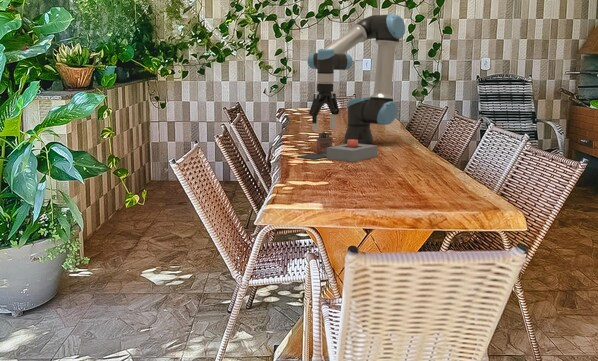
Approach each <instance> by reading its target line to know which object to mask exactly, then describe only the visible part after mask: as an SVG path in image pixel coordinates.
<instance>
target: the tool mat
mask: <svg viewBox="0 0 598 361" xmlns="http://www.w3.org/2000/svg"><path fill="white" fill-rule="evenodd" d="M296 158H298V159H302V160H303V159H304V160H310V161H311V160H313V161H317V160H323V159H327V154H316V152H314V153H308V154H302V155H298V156H296Z"/></svg>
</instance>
